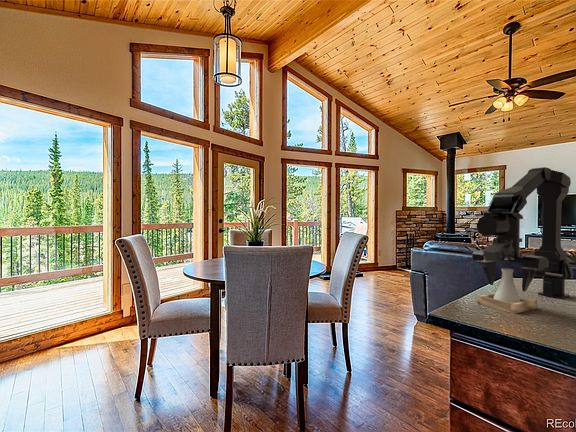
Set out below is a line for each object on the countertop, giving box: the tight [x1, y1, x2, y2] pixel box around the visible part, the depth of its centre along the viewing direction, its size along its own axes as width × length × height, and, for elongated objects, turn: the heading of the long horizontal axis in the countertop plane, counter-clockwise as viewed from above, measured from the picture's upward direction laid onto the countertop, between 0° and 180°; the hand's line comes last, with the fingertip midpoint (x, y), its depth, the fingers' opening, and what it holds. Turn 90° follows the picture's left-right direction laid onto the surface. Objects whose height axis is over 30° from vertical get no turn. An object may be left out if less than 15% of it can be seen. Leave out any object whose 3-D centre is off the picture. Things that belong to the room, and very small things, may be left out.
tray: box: [477, 292, 538, 314], centre depth 98 cm, size 11×10×2 cm
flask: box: [493, 267, 521, 303], centre depth 98 cm, size 7×7×10 cm
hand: (507, 287), depth 98 cm, fingers open, 9 cm apart
